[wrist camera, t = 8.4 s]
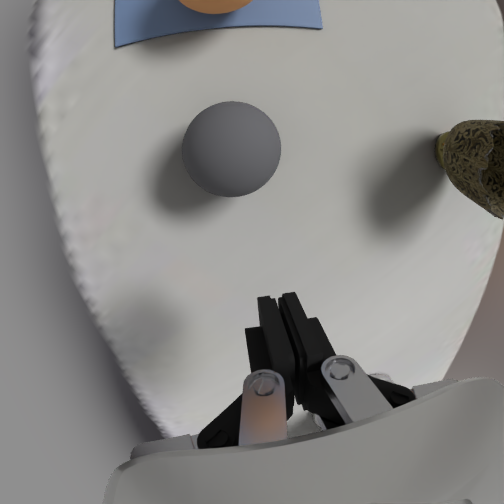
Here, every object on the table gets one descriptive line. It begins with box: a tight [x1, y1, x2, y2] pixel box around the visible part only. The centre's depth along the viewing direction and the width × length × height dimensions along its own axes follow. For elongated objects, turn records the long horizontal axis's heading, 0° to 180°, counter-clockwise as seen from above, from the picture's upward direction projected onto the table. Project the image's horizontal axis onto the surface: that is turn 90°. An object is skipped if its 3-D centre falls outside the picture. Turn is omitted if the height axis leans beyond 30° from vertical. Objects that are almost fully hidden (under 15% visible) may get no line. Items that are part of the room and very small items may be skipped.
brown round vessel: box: [435, 120, 504, 219], centre depth 16 cm, size 7×7×8 cm
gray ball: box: [182, 101, 281, 197], centre depth 15 cm, size 6×6×6 cm
